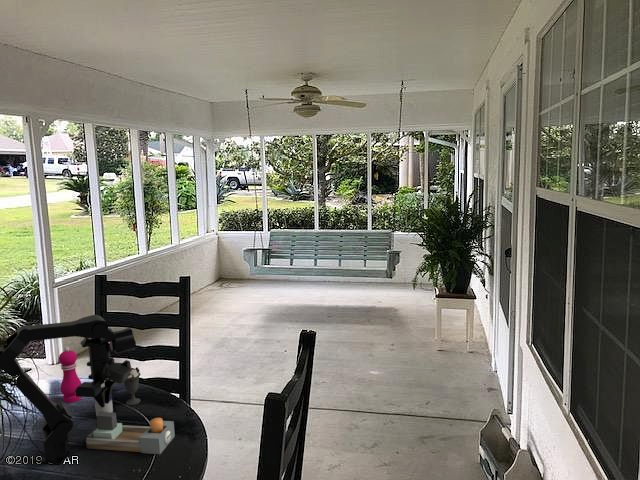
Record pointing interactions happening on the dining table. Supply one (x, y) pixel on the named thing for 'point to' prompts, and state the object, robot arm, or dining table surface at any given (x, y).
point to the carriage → (107, 426)
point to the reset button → (156, 425)
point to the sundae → (132, 385)
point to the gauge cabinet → (157, 439)
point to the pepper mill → (69, 375)
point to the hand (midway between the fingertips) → (105, 405)
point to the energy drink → (107, 407)
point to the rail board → (119, 440)
